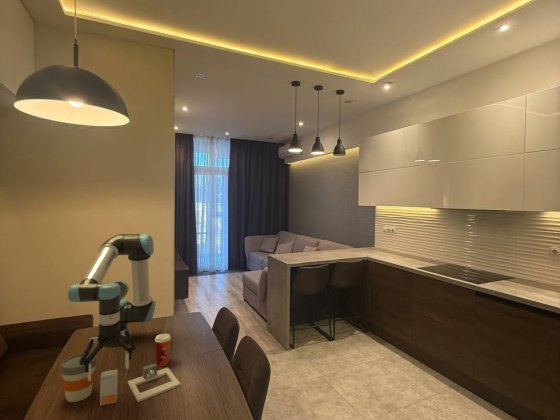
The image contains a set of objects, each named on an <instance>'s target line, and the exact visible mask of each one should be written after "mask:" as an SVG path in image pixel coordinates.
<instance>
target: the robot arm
mask: <svg viewBox="0 0 560 420" xmlns="http://www.w3.org/2000/svg"><path fill="white" fill-rule="evenodd" d="M154 247H155V244H154V240H153V237H152V235H150V234H148V233H119V234H116V235H113V236H112V237H110V238H108V239H107V240H105V241H104V242H103V243H102V244H101V245H100V247H99V248H98V254H97V256H96V257H95V259H94V260H93V262H92V264H91V265H90V267H89V268H88V270H87V272H86V273H85V275H84V277H83V278H82V280H80V283H75V284H72V285H70V287H69V289H68V292H67V299H68V301H70V302H71V303H85V302H86V303H88V302H89V303H90V302H98V335H97V336H96V337H93V336H90V337H89V338H88V343H87V345H86V347H85V349H84V351H83V355H82V357H81V358H80V360H79V363H80V365H85V372H86V373H87V372H88V380H89V381H91V361H92V359H93V358H94V357H95V356H96V355H98V353H99V352H100V351H101V350H102V349H103V348H104V347H108V348H109V347H111V348H112V347H117V346H118V347H121V348H122V349H124V350H125V351H124V353H125V355H124V356H125V357H124V359H125V361H124V367H125V369H126V370H129V368H130V360H132V354H133V351H136V350H137V346H136V345H135V344H134V341H133V340H132V334H131V331H130V328H129V325H128V324H131V323H146V322H151V321H152V320H153V319H154V316H155V315H154V314H155V310H156V306H157V305H156V304H157V303H156V300H153V297H152V296H151V295H150V280H149V279H150V278H149V277H150V275H149V260H150V258H151V257H152V255H153V254H154V250H155V249H154ZM118 256H127V259H128V261H130V263H131V281H132V282H131V283H132V297H133V298H131V300H130V301H129V300H128V299H127V298H125V297H126V296H127V294H128V292H129V290H130V286H129V284H128V283H127V282H126V281H124V280H117V281H115V282H106V283H104V282H103V280H104V278H105V277H106V275H107V272H108V271H109V269H110V267H111V265H112V263H113V261H114V260H115V259H117V258H118ZM96 342H98V343H97V345H96V346H95V347H94V348H93V346H94V344H96ZM126 343H128V344H129V345H130V347H129V346H128V345H127V344H126ZM92 348H93V350H92ZM91 350H92V351H91ZM90 352H91V354H90V355H89V356H88V354H89V353H90ZM87 356H88V357H87ZM96 357H97V356H96ZM86 358H87V359H86Z"/></svg>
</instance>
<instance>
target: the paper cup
mask: <svg viewBox="0 0 560 420" xmlns="http://www.w3.org/2000/svg"><path fill="white" fill-rule="evenodd" d="M171 339H172V337H171V334H170V333H159V334H158V335H156V336H155V339H154V342H155V355H156V356H155V357H156V365H157V367H165V366H167V365H168V364H169V363H170V362H169V360H170V349H171V348H170V347H171Z"/></svg>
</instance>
